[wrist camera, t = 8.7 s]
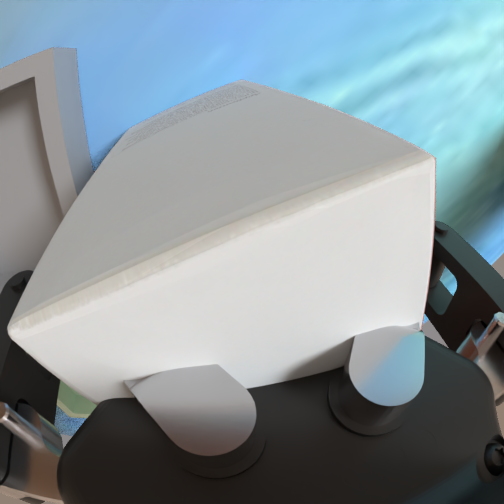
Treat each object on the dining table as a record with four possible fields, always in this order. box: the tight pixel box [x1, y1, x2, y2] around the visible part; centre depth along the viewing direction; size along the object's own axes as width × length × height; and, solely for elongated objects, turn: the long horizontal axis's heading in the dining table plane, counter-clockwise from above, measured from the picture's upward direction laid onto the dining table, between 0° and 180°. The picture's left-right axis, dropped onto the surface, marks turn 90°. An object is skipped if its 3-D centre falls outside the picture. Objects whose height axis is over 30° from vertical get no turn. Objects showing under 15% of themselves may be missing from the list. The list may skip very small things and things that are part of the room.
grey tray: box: [0, 47, 94, 293], centre depth 12 cm, size 11×13×3 cm
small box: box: [7, 80, 436, 405], centre depth 10 cm, size 8×6×13 cm
